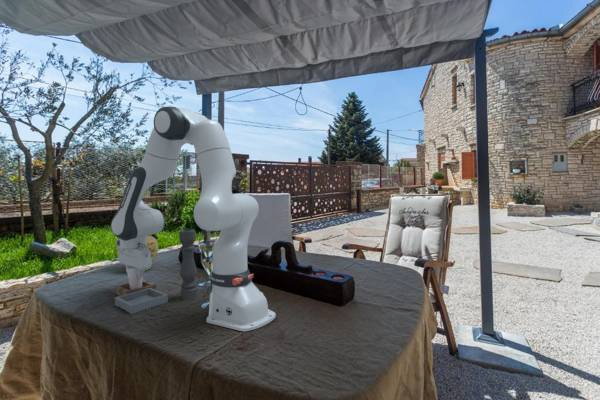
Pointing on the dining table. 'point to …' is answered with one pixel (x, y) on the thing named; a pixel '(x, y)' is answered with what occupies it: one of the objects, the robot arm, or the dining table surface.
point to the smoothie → (133, 278)
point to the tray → (141, 300)
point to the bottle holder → (125, 289)
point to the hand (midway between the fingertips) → (135, 277)
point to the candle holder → (188, 265)
